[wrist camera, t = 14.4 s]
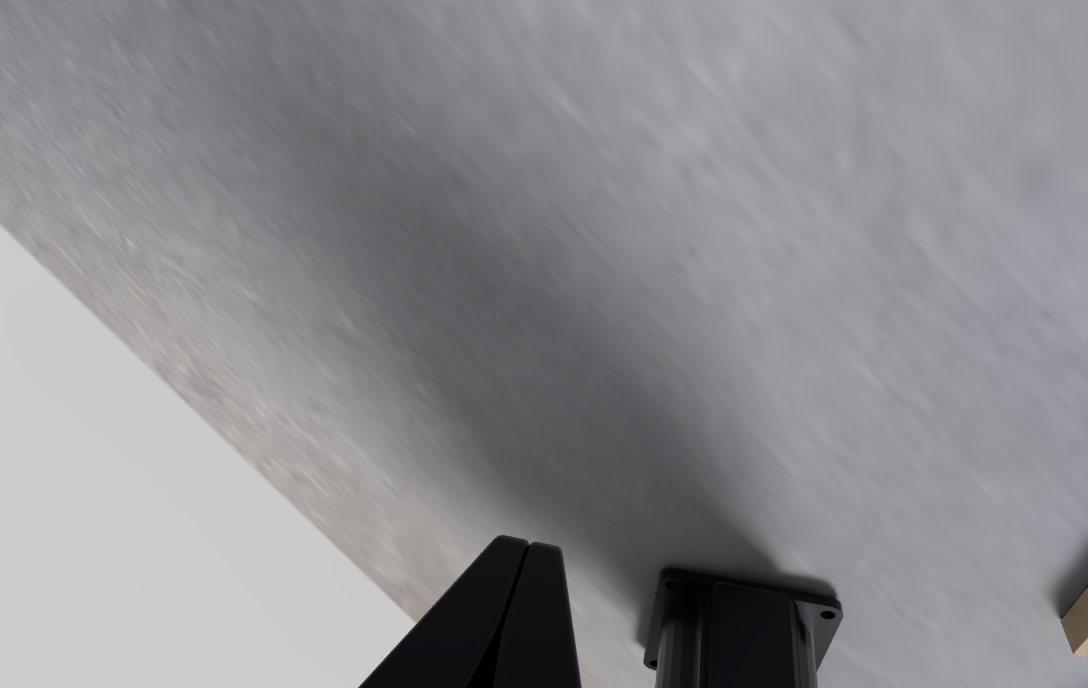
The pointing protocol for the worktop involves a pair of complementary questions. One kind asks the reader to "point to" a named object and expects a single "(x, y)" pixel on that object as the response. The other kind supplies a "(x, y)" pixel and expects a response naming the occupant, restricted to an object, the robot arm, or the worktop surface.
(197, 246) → the worktop surface
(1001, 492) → the worktop surface
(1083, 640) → the picture frame
